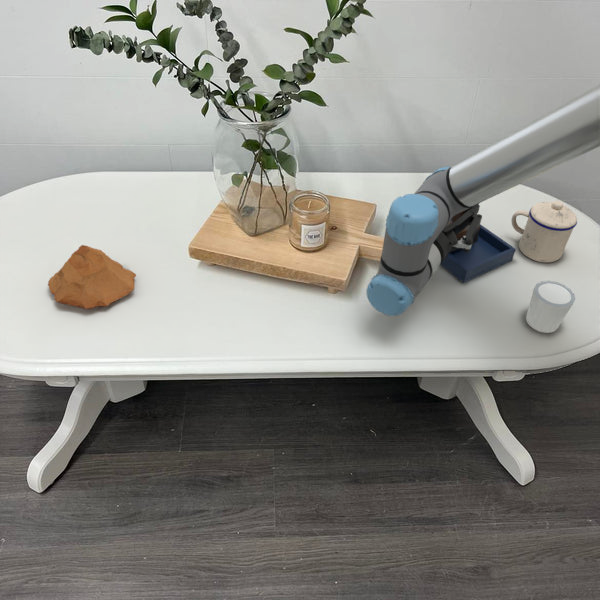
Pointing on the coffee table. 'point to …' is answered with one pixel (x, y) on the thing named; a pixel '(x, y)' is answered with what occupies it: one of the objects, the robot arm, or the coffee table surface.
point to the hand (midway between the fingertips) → (469, 195)
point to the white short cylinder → (549, 306)
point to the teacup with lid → (545, 230)
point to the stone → (91, 280)
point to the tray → (479, 256)
